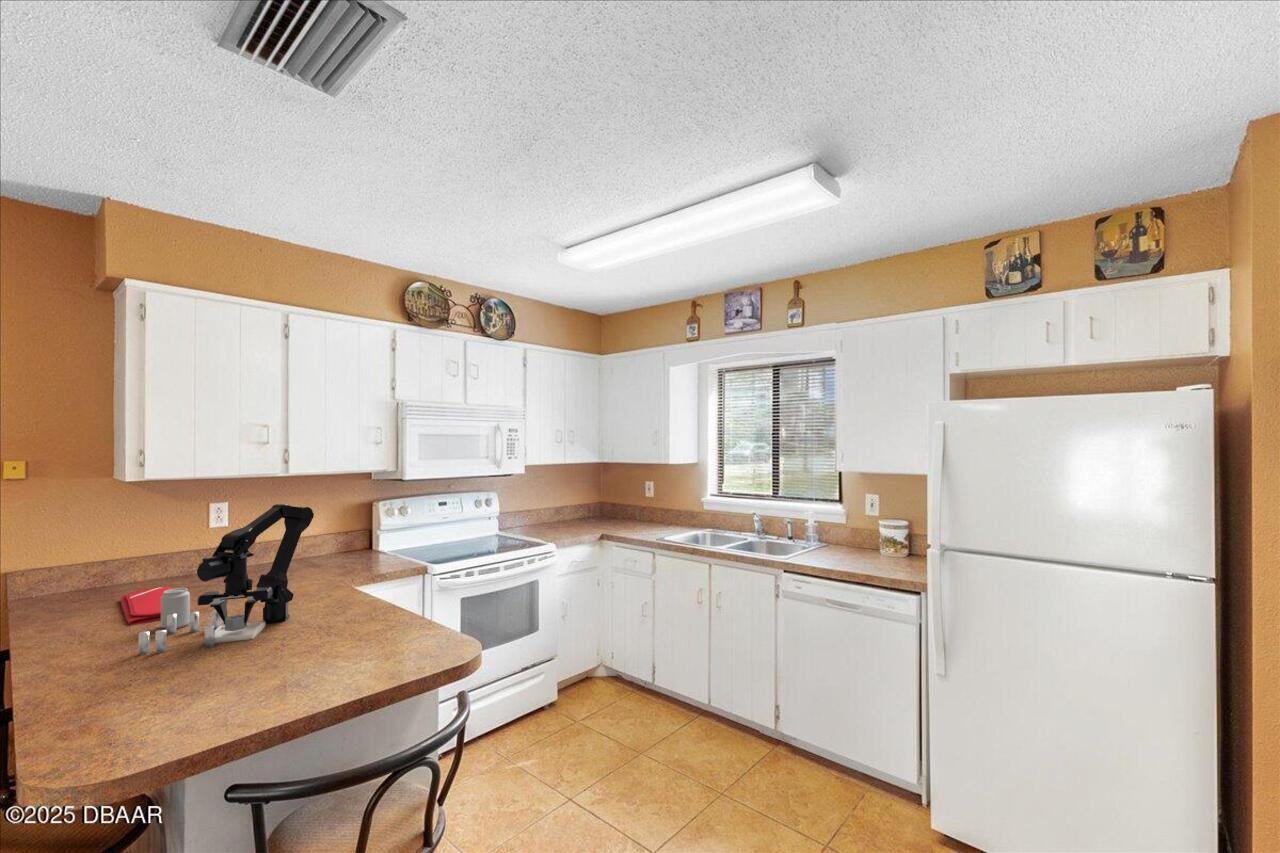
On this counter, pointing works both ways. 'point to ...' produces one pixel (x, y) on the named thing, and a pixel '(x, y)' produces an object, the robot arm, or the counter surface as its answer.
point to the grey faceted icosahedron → (235, 623)
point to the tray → (238, 633)
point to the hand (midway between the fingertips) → (236, 623)
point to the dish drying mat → (143, 605)
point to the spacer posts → (172, 629)
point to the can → (175, 606)
